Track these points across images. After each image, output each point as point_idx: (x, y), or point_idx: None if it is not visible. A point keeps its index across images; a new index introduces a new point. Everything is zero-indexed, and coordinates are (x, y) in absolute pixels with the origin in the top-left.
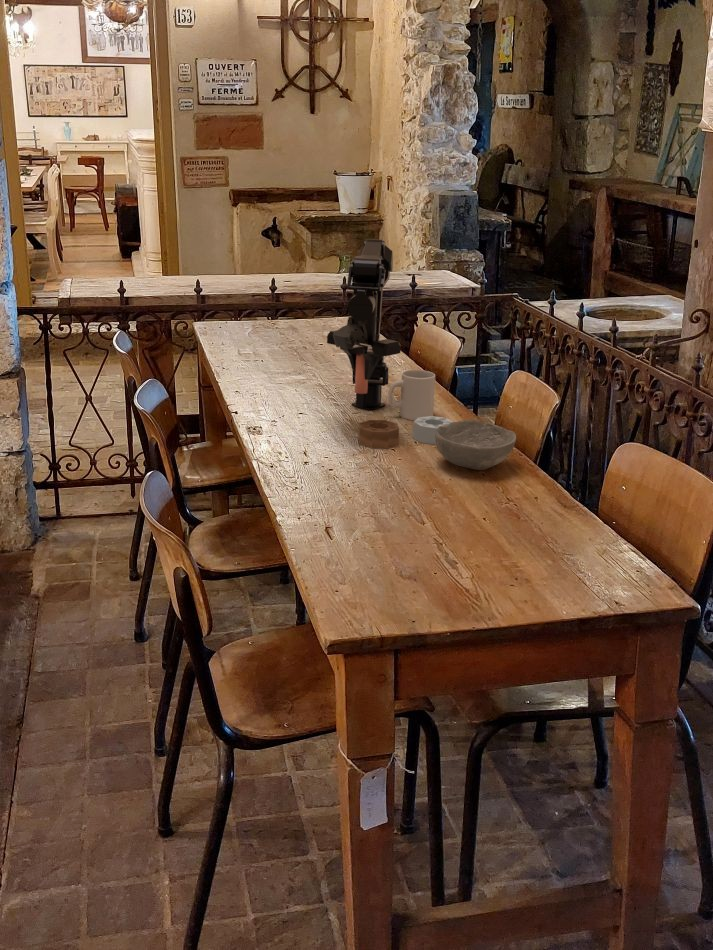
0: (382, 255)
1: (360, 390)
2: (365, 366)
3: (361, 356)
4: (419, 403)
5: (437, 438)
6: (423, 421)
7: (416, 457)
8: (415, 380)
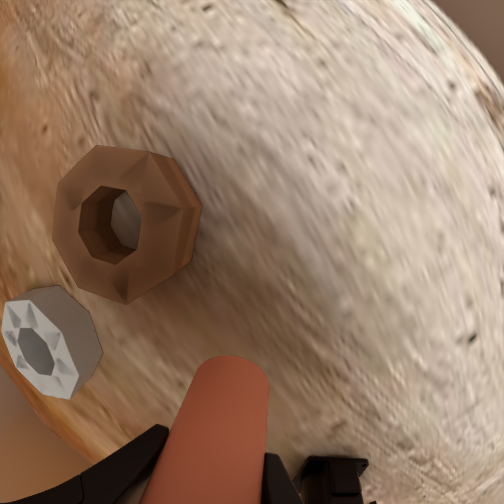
0: None
1: (212, 369)
2: (107, 492)
3: None
4: None
5: None
6: (49, 346)
7: (25, 170)
8: None
